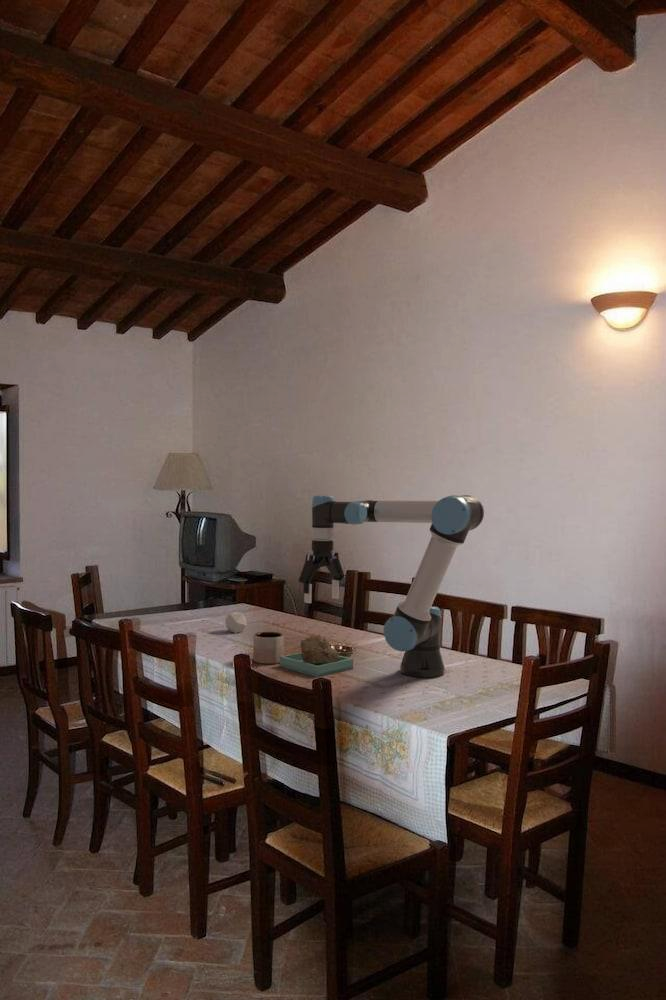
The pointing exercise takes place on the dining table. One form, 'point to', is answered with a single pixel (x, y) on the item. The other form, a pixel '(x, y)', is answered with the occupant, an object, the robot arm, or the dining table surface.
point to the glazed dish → (298, 665)
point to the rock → (318, 651)
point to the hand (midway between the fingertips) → (321, 600)
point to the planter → (268, 647)
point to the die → (235, 622)
